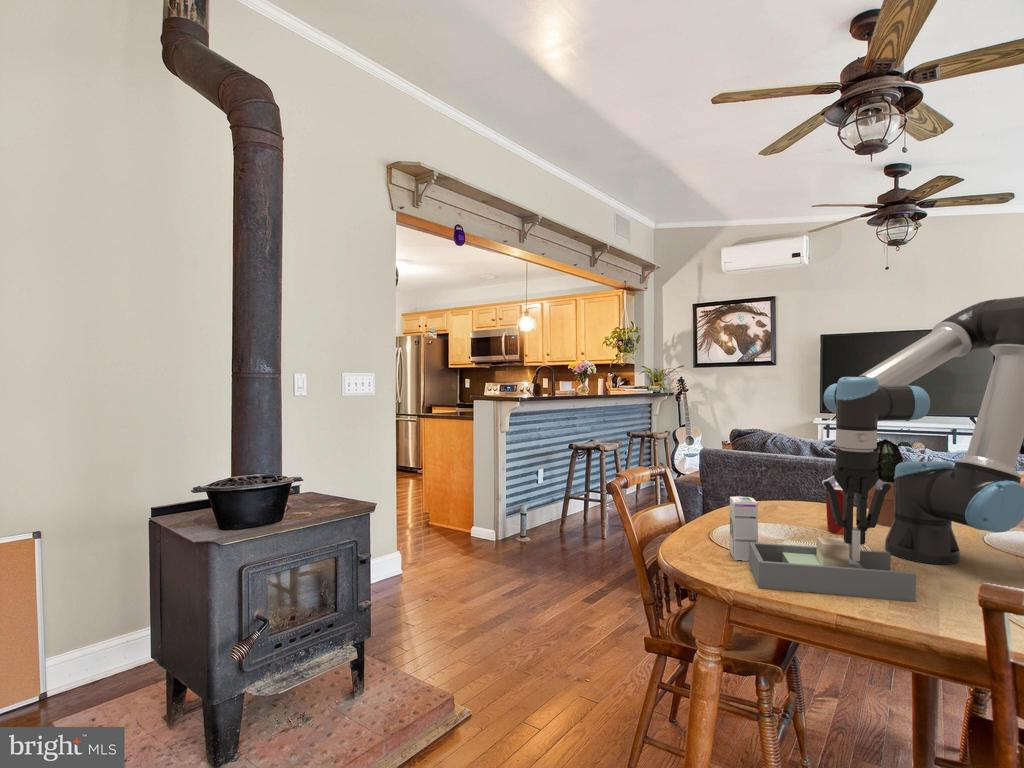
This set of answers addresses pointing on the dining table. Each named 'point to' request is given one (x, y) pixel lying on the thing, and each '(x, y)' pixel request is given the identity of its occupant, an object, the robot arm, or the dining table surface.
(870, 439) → the robot arm
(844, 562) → the birch block
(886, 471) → the potted plant
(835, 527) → the paper cup
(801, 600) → the dining table surface
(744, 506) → the syrup box
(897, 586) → the trap lane
